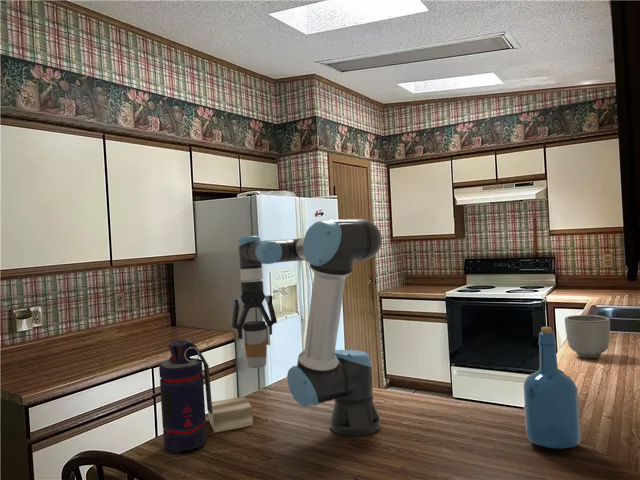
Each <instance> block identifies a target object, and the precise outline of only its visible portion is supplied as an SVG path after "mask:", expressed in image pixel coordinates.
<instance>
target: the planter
mask: <svg viewBox="0 0 640 480" xmlns="http://www.w3.org/2000/svg"><path fill="white" fill-rule="evenodd" d="M564 326H565V334H566V339H567V343H568V346H569V348H570V349H571V350H572V351H574V353H576V354H577V356H579V357H582V358H588V359H589V358H590V359H592V358H594V359H596V358H599V357H601V356H602V354H603V353H604V352H606V351H607V350H608V348H609V345H610V338H611V337H610V336H611V335H610V334H611V332H610V331H611V320H610V318H609V317H607V316H604V315H603V316H602V315H593V314H580V315H570V316H569V315H568V316H566V317H564Z"/></svg>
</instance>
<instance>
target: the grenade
mask: <svg viewBox="0 0 640 480" xmlns="http://www.w3.org/2000/svg"><path fill="white" fill-rule="evenodd" d="M167 345H168V348H169V351H170V357H169V359H168V360H166V361H164V362H162V363H160V364H159V366H158V368H159V369H158V370H159V373H158V374H159V378H160V379H159V387H160V388H159V389H160V401H161V402H160V404H161V405H160V407H161V419H162V422H161V423H162V435H163V447H164V448H165V449H166V450H169V451H170V452H171V454H172V455H179V454H181V452H185V451H189V450H193V449H194V450H195V449H198V450H201V449H202V448H203V447H204V446H205V443H206V441H207V438H208V437H207V425H206V424H207V423H206V421H207V420H206V408H207V412H208V411H209V412H210V413H211V414H212V413H213V411H212V402H213V401H212V392H211V391H212V390H211V379H210V368H209V367H210V365H209V364H208V362H207V361H206V359H205V357H204V355H203V353H202V352H201V351H200V349H199V348H198V347H197V346H196V344H195V343H194V342H193V341H192V340H190V339H188V338H184V339H182V340H181V339H178V340H174V341H173V342H169V343H168V344H167ZM195 356H197V357H195ZM203 373H204V374H203ZM204 385H205V386H204ZM204 388H205V389H204ZM205 396H206V397H205ZM205 398H206V404H205Z"/></svg>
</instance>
